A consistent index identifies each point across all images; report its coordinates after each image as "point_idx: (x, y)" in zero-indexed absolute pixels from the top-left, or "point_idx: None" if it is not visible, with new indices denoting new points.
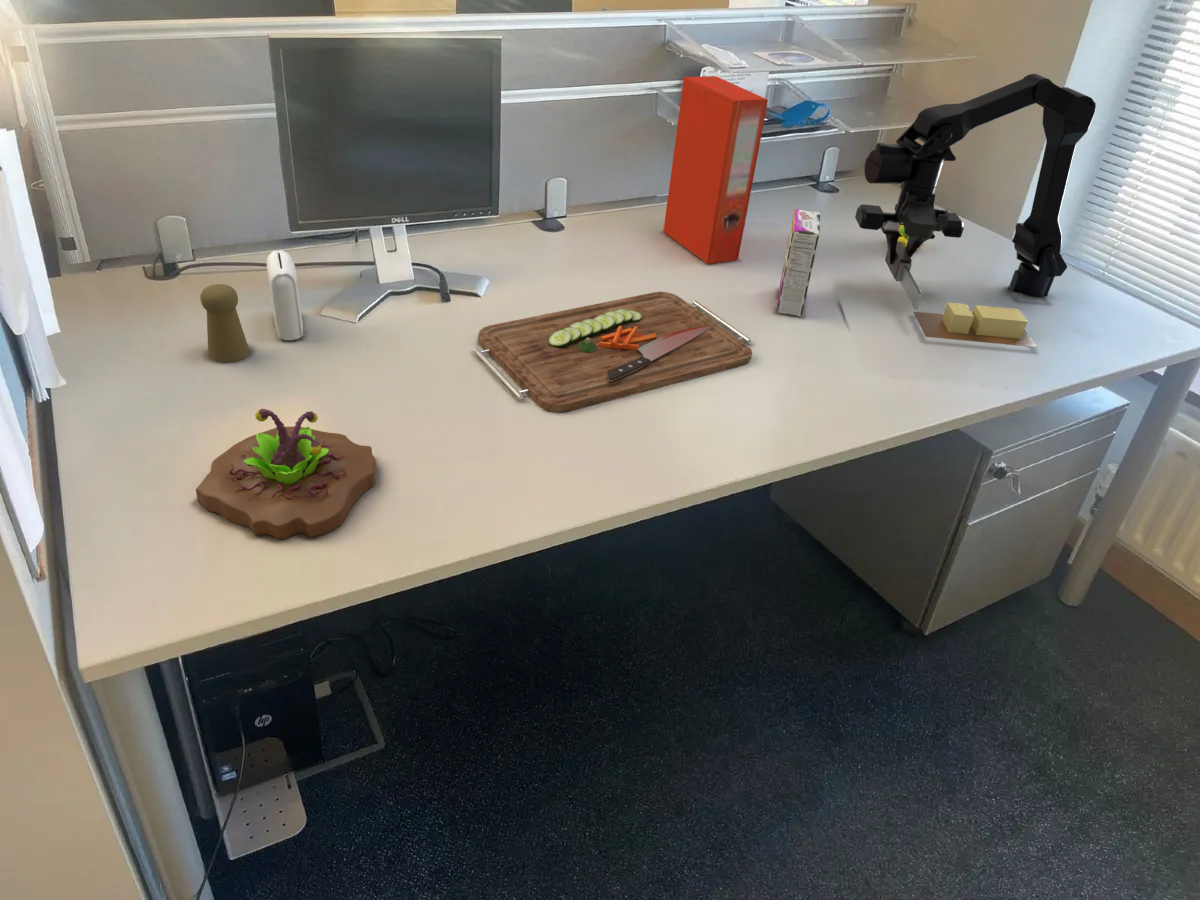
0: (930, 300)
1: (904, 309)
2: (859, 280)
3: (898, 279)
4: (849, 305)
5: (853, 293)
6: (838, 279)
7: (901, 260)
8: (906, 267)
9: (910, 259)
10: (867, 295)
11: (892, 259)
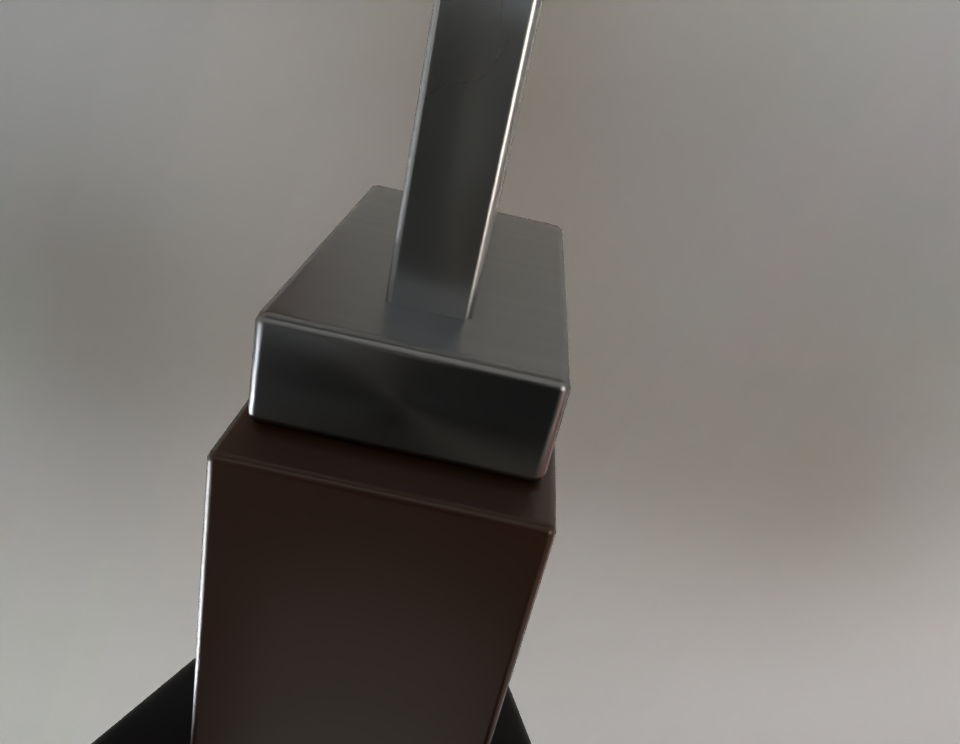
0: (13, 338)
1: (350, 147)
2: (549, 690)
3: (529, 224)
4: (951, 251)
5: (739, 491)
6: (730, 713)
7: (515, 499)
8: (428, 257)
9: (235, 510)
10: (616, 451)
11: None
